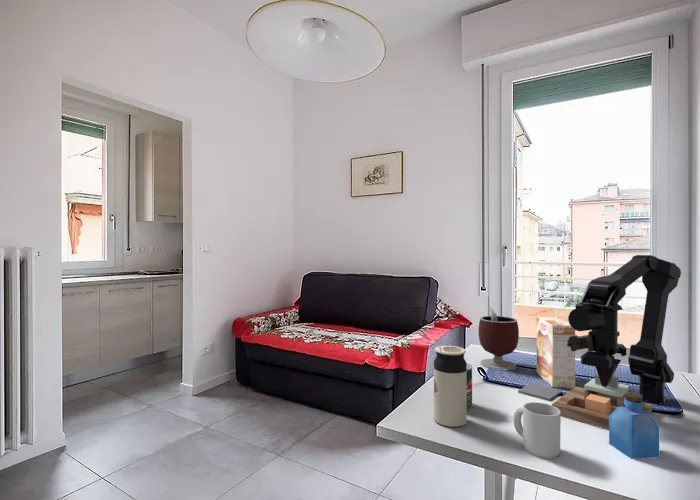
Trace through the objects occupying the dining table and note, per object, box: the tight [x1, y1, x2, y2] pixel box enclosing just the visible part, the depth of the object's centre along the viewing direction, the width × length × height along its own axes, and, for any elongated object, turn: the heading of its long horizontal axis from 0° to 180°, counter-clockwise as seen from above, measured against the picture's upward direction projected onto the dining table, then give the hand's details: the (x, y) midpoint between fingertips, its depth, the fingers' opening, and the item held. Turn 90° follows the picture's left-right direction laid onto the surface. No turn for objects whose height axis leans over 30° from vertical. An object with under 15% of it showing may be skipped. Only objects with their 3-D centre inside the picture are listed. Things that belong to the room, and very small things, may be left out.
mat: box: [517, 383, 562, 402], centre depth 118 cm, size 9×9×1 cm
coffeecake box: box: [536, 316, 576, 389], centre depth 129 cm, size 15×7×20 cm, turn 172°
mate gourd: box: [478, 307, 520, 370], centre depth 146 cm, size 16×14×20 cm
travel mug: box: [433, 345, 468, 428], centre depth 99 cm, size 8×8×18 cm
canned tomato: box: [467, 363, 473, 411], centre depth 109 cm, size 8×8×11 cm
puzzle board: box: [551, 386, 653, 431], centre depth 103 cm, size 19×18×5 cm
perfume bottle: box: [608, 391, 660, 460], centre depth 85 cm, size 6×6×12 cm
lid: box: [583, 372, 630, 397], centre depth 106 cm, size 8×8×4 cm
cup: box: [513, 401, 561, 459], centre depth 86 cm, size 7×10×9 cm
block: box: [585, 394, 611, 416], centre depth 101 cm, size 4×4×5 cm
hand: (604, 386), depth 105 cm, fingers closed
